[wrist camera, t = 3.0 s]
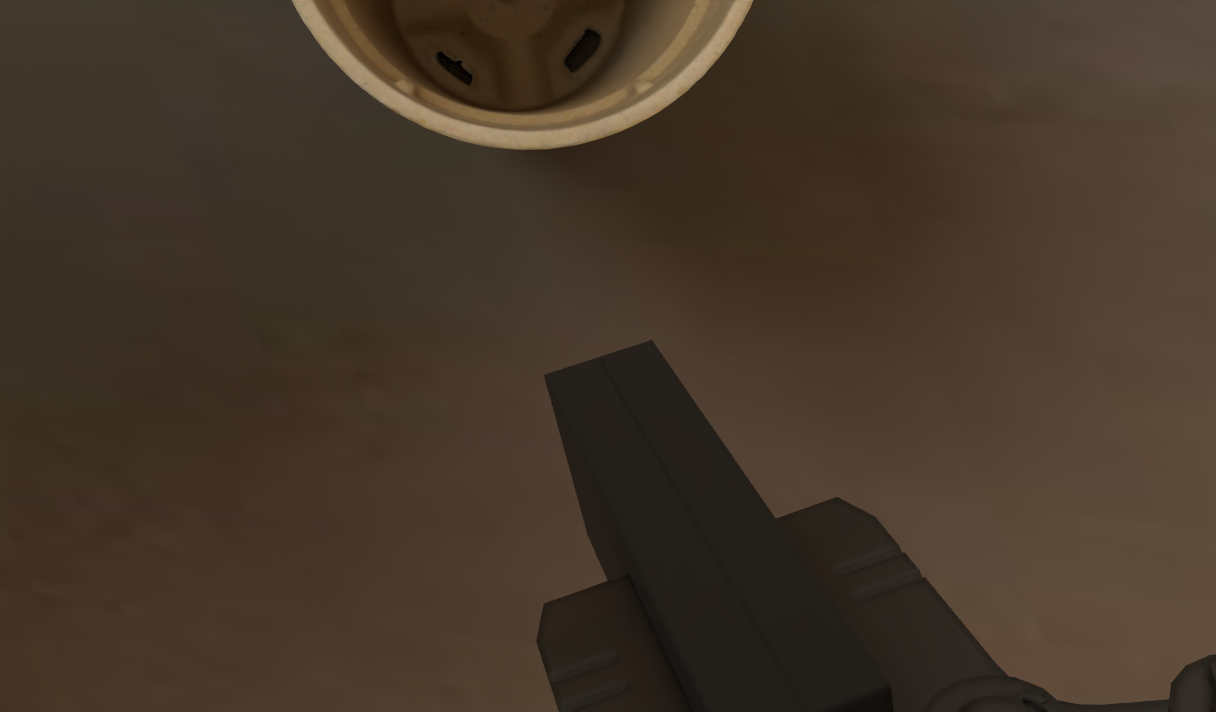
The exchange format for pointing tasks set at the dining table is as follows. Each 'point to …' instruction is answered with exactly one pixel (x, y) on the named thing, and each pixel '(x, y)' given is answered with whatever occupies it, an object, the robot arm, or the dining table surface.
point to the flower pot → (524, 61)
